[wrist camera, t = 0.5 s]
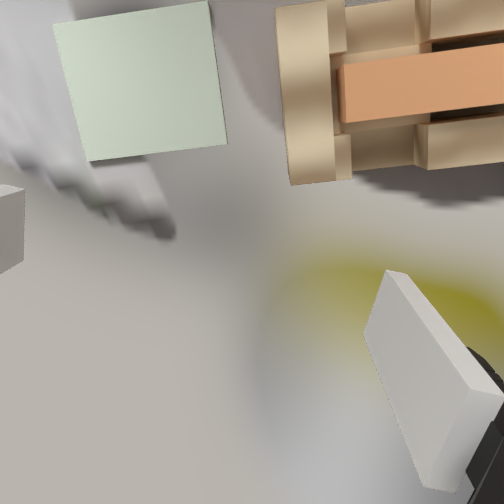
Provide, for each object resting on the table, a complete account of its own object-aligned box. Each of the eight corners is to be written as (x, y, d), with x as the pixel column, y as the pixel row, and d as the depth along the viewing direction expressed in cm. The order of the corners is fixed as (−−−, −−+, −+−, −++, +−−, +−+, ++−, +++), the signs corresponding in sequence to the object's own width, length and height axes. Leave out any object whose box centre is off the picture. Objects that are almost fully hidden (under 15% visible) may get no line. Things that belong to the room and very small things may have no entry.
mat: (55, 25, 36) (51, 24, 36) (208, 2, 35) (207, 0, 35) (89, 160, 40) (86, 161, 40) (228, 143, 39) (227, 144, 38)
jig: (274, 25, 35) (274, 7, 29) (571, -19, 33) (638, -48, 27) (288, 173, 40) (291, 185, 34) (552, 143, 38) (606, 150, 31)
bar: (335, 69, 33) (344, 64, 29) (517, 44, 32) (550, 36, 28) (338, 121, 34) (346, 122, 30) (512, 99, 33) (543, 98, 29)
